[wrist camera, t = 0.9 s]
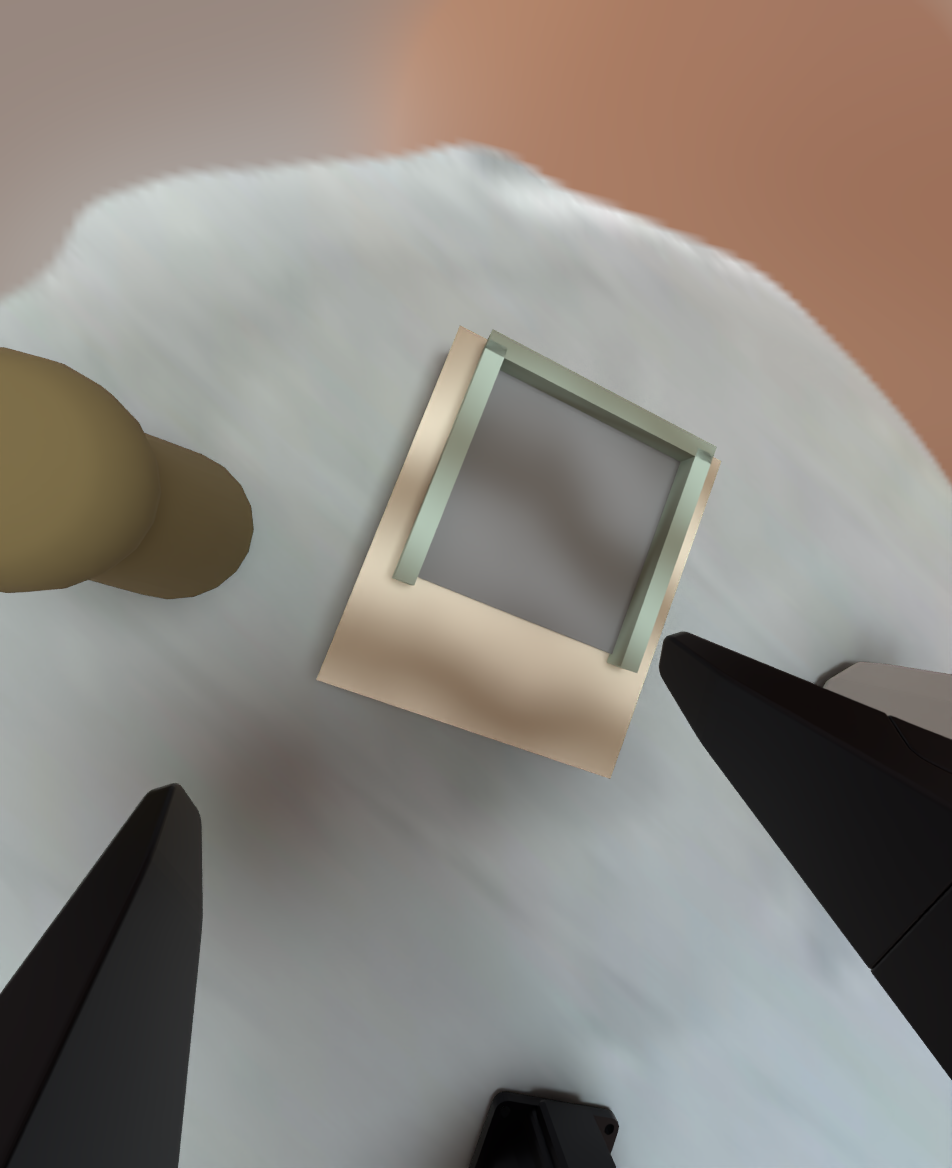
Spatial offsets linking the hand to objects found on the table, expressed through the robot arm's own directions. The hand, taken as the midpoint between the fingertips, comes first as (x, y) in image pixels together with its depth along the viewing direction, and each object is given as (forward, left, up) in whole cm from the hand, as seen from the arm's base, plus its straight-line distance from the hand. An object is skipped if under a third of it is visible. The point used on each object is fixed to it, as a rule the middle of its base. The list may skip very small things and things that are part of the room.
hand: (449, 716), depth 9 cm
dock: (+5, -4, -13) cm, 15 cm away
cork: (+1, +10, -14) cm, 17 cm away
